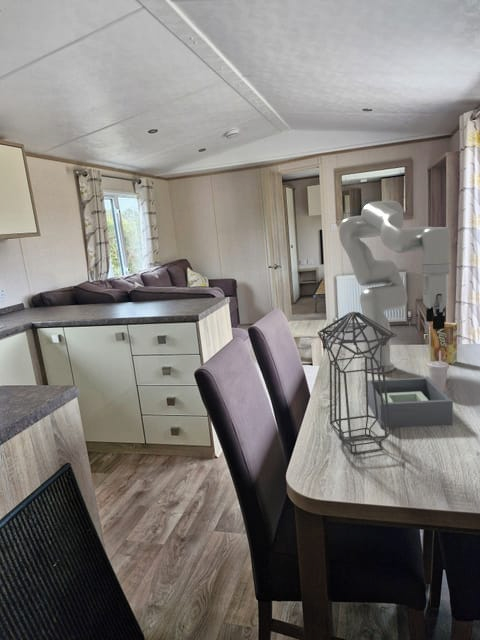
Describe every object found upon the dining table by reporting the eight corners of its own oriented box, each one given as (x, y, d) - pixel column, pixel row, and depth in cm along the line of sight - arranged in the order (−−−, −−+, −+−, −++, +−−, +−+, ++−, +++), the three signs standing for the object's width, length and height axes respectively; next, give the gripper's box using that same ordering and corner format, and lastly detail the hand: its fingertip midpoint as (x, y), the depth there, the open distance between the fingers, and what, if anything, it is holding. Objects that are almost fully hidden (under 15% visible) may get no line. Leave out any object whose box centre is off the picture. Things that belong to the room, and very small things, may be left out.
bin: (366, 401, 139) (366, 380, 138) (428, 398, 137) (428, 377, 136) (381, 428, 121) (380, 404, 119) (452, 425, 119) (452, 401, 117)
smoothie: (451, 396, 138) (451, 353, 135) (429, 396, 139) (429, 353, 136) (446, 388, 144) (446, 347, 141) (425, 388, 145) (425, 348, 142)
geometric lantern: (340, 463, 105) (331, 321, 99) (323, 435, 121) (314, 310, 114) (404, 454, 106) (398, 313, 100) (378, 427, 121) (372, 304, 115)
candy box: (457, 361, 169) (457, 322, 165) (452, 364, 166) (453, 325, 163) (434, 358, 175) (434, 320, 172) (429, 360, 172) (429, 323, 169)
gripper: (417, 267, 140) (417, 319, 143) (428, 273, 123) (427, 332, 127) (442, 265, 138) (441, 318, 142) (456, 272, 122) (455, 331, 125)
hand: (435, 324), depth 134 cm, fingers open, 9 cm apart
